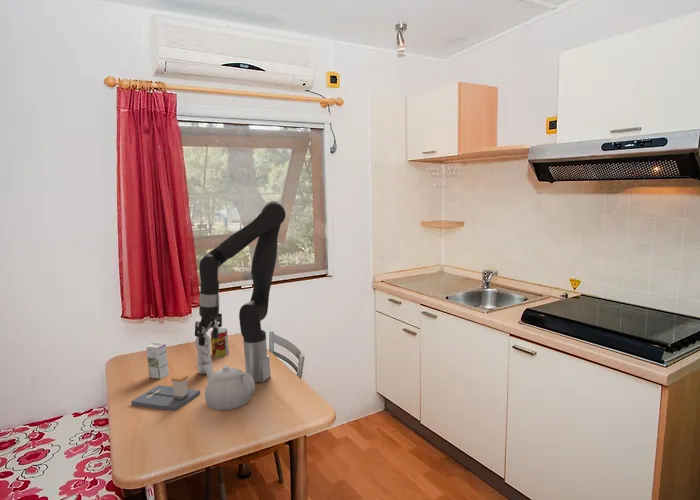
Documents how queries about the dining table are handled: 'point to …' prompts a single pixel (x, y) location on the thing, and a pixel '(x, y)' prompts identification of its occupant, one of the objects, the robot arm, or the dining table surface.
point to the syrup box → (157, 360)
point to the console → (163, 398)
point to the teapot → (228, 388)
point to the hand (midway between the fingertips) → (208, 341)
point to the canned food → (220, 343)
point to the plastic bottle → (203, 354)
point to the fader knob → (180, 386)
